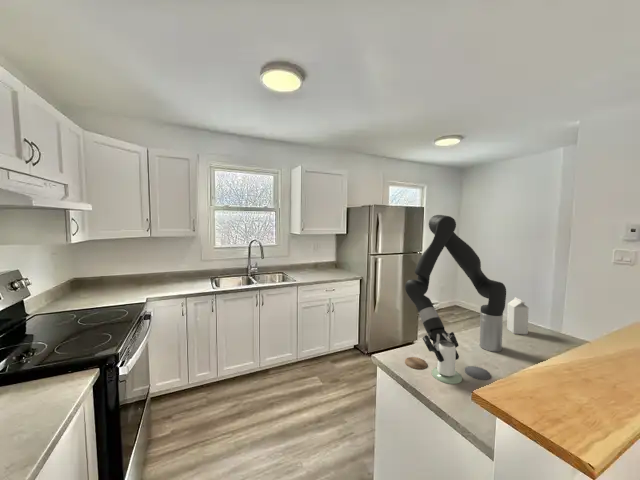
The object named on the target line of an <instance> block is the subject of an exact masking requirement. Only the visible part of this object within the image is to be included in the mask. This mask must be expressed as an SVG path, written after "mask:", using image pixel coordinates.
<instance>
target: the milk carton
mask: <svg viewBox="0 0 640 480" xmlns="http://www.w3.org/2000/svg"><path fill="white" fill-rule="evenodd" d="M513 297H514V299H512V300H511V301H509V302H507V314H506V316H507V317H506V318H507V319H506V330H507V331H509V332H510V333H512V334H514V335H528V331H529V330H528V329H529V327H528V326H529V307H528V306H527V305H526V302H525V301H523V300H522V299H520V298H518V297H515V296H513Z"/></svg>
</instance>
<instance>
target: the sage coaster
mask: <svg viewBox="0 0 640 480" xmlns="http://www.w3.org/2000/svg"><path fill="white" fill-rule="evenodd" d="M431 375H432V377H433V378H434V379H436V380H437V381H439V382H441V383H444V384H448V385H457V384H460V383H461V382H463V381H462V380H463V375H462V374H460V372H458V371H456V370H455V375H454V376H451V377H448V376H444V375H441V374H440V373H439V372H438V370H437V367H434V368H432V370H431Z"/></svg>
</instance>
